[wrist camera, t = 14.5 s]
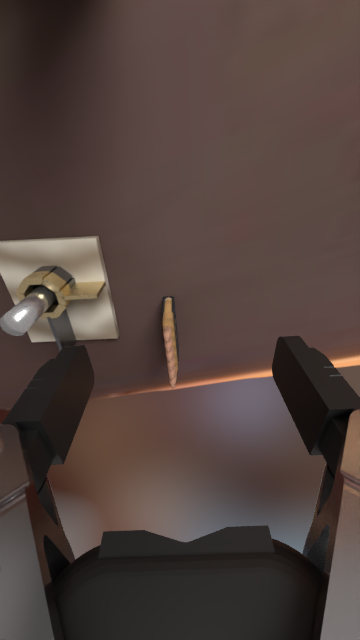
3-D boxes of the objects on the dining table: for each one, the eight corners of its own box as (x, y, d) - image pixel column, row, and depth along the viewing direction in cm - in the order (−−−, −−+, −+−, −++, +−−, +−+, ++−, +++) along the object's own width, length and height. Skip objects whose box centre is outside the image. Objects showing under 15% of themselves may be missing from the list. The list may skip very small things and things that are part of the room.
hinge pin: (43, 277, 38) (-5, 315, 28) (62, 276, 38) (20, 314, 28) (49, 294, 40) (6, 336, 30) (67, 293, 40) (30, 335, 30)
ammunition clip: (163, 296, 42) (159, 336, 32) (173, 295, 42) (173, 335, 32) (169, 345, 48) (167, 392, 37) (178, 344, 48) (179, 392, 37)
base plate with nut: (-7, 241, 37) (-39, 253, 31) (98, 235, 37) (84, 247, 31) (35, 337, 46) (16, 360, 41) (119, 333, 46) (111, 355, 40)
